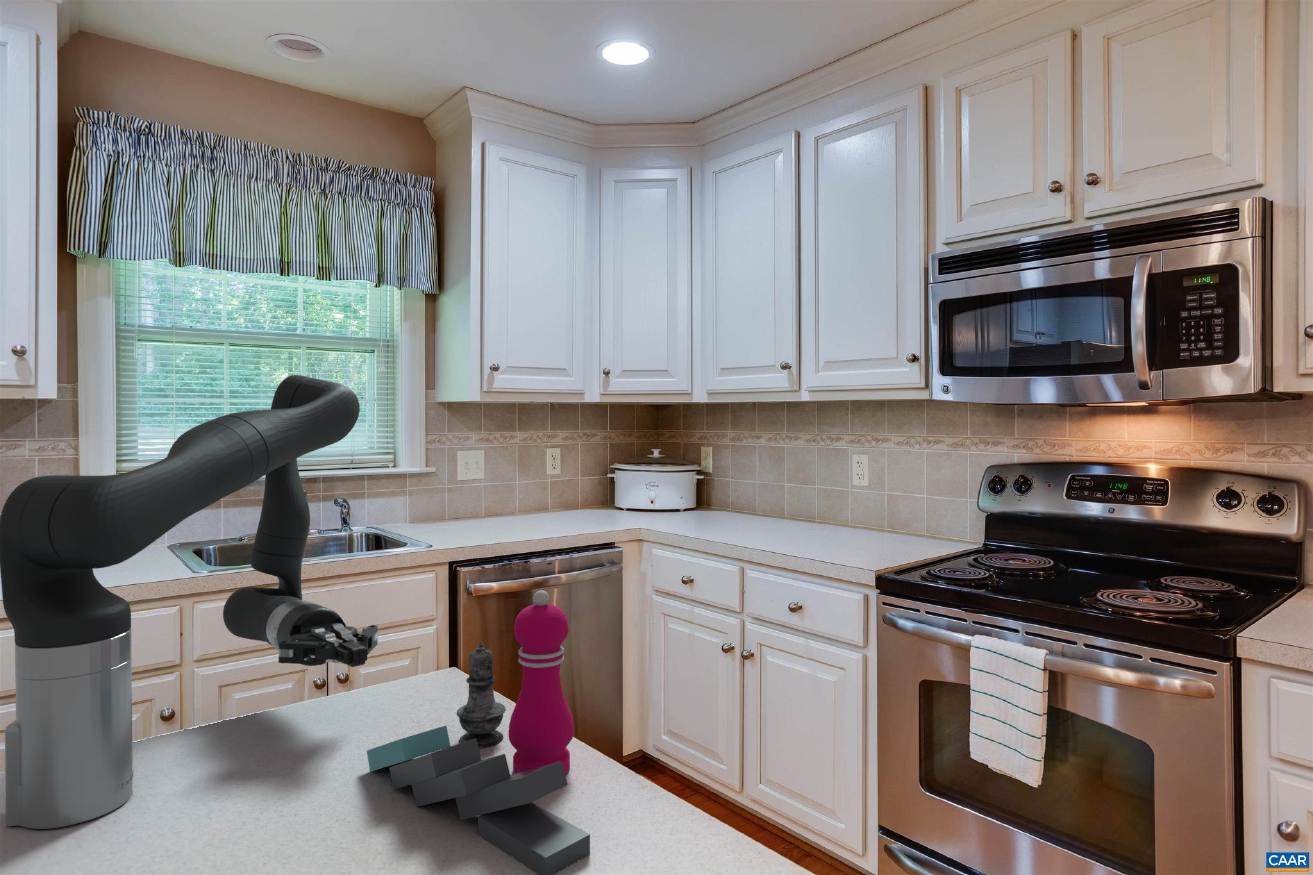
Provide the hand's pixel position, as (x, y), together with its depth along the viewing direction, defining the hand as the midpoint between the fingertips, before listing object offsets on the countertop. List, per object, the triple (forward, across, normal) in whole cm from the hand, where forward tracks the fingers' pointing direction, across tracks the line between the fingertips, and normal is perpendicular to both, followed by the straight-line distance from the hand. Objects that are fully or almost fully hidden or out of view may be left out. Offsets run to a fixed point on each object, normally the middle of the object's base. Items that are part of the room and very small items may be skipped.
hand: (359, 657), depth 89 cm
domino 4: (+23, +2, +10) cm, 25 cm away
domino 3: (+17, +1, +10) cm, 20 cm away
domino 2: (+13, 0, +10) cm, 16 cm away
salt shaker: (+8, +12, +11) cm, 18 cm away
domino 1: (+7, +1, +10) cm, 12 cm away
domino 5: (+27, +2, +10) cm, 29 cm away
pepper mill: (+20, +12, +11) cm, 26 cm away
